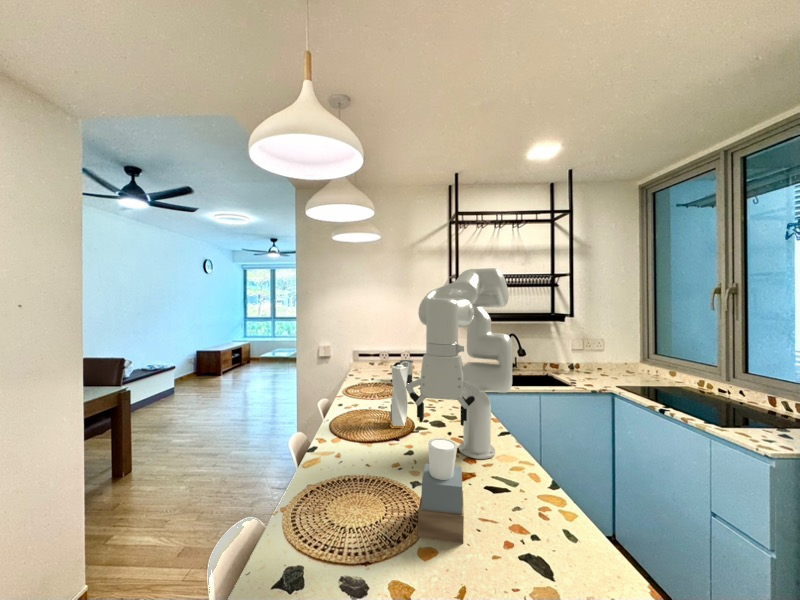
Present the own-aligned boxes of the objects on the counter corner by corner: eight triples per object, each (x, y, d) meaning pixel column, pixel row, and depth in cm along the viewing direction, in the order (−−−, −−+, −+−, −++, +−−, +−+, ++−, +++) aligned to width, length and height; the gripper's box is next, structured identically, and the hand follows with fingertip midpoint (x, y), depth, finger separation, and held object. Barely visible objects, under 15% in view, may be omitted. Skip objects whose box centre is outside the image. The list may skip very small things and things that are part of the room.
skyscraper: (408, 423, 143) (409, 360, 143) (408, 430, 135) (409, 363, 135) (390, 422, 143) (390, 359, 144) (388, 429, 135) (389, 362, 136)
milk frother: (413, 381, 221) (413, 359, 222) (411, 387, 206) (412, 364, 206) (392, 380, 223) (393, 359, 223) (389, 386, 207) (390, 363, 208)
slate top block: (425, 487, 81) (425, 463, 81) (461, 491, 80) (461, 467, 80) (421, 509, 72) (421, 482, 73) (462, 514, 71) (462, 487, 71)
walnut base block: (422, 509, 82) (423, 486, 82) (462, 514, 80) (463, 490, 80) (417, 537, 72) (418, 510, 72) (463, 544, 70) (463, 516, 70)
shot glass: (453, 467, 80) (455, 438, 80) (457, 482, 73) (459, 451, 73) (426, 465, 80) (427, 436, 80) (427, 480, 73) (429, 449, 73)
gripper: (478, 349, 79) (478, 419, 79) (408, 346, 82) (408, 414, 82) (480, 354, 71) (479, 431, 71) (403, 351, 75) (403, 425, 75)
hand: (441, 422), depth 77 cm, fingers open, 9 cm apart
